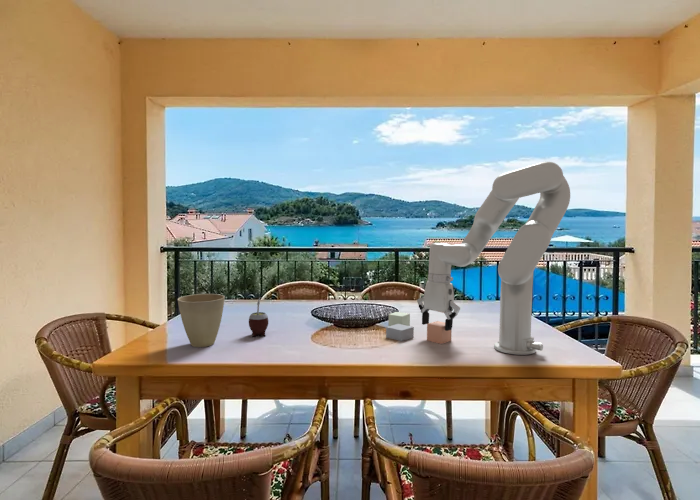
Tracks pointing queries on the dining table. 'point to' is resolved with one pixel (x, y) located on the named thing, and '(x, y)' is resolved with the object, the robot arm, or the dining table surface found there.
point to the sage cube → (399, 319)
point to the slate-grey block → (399, 332)
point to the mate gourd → (258, 322)
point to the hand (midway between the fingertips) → (436, 326)
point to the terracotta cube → (438, 332)
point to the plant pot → (201, 317)
